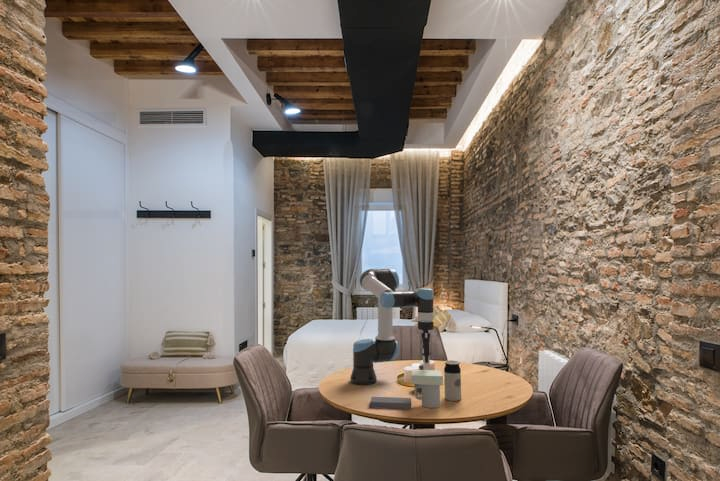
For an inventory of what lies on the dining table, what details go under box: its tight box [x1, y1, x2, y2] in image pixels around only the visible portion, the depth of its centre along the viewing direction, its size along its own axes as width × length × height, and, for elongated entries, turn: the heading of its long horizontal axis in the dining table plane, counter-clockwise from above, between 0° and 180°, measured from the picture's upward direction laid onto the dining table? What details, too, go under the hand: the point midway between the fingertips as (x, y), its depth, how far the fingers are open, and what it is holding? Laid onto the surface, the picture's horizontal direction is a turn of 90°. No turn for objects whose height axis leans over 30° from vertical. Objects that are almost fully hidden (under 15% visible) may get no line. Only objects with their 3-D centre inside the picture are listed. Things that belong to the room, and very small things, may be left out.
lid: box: [411, 369, 444, 386], centre depth 192 cm, size 11×14×4 cm
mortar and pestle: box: [413, 364, 424, 393], centre depth 217 cm, size 11×9×12 cm
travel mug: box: [443, 359, 462, 402], centre depth 201 cm, size 8×8×18 cm
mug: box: [413, 385, 441, 409], centre depth 192 cm, size 12×8×11 cm
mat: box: [369, 396, 412, 410], centre depth 192 cm, size 8×19×2 cm, turn 83°
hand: (426, 366), depth 193 cm, fingers open, 13 cm apart
